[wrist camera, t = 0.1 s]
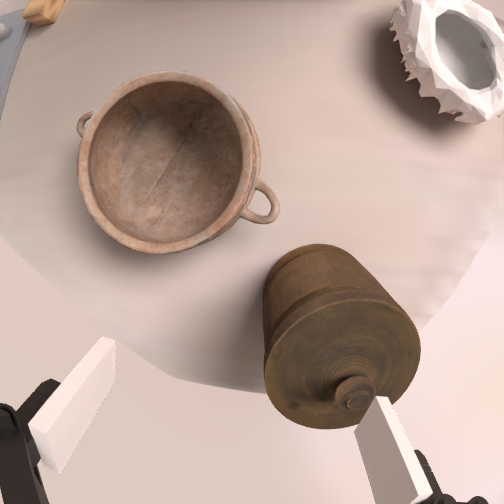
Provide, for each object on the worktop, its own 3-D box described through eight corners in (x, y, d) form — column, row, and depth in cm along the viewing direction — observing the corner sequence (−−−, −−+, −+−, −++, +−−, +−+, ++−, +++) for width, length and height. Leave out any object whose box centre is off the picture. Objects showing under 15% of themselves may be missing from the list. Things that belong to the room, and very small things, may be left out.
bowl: (503, 87, 33) (541, 77, 23) (447, 154, 36) (489, 153, 27) (424, -9, 29) (451, -36, 20) (351, 42, 33) (374, 11, 24)
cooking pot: (85, 191, 39) (32, 200, 27) (140, 69, 35) (101, 37, 23) (240, 271, 41) (232, 309, 30) (308, 142, 37) (329, 129, 25)
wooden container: (256, 337, 44) (251, 456, 22) (270, 236, 40) (282, 306, 19) (353, 345, 44) (403, 452, 23) (377, 251, 40) (468, 320, 19)
